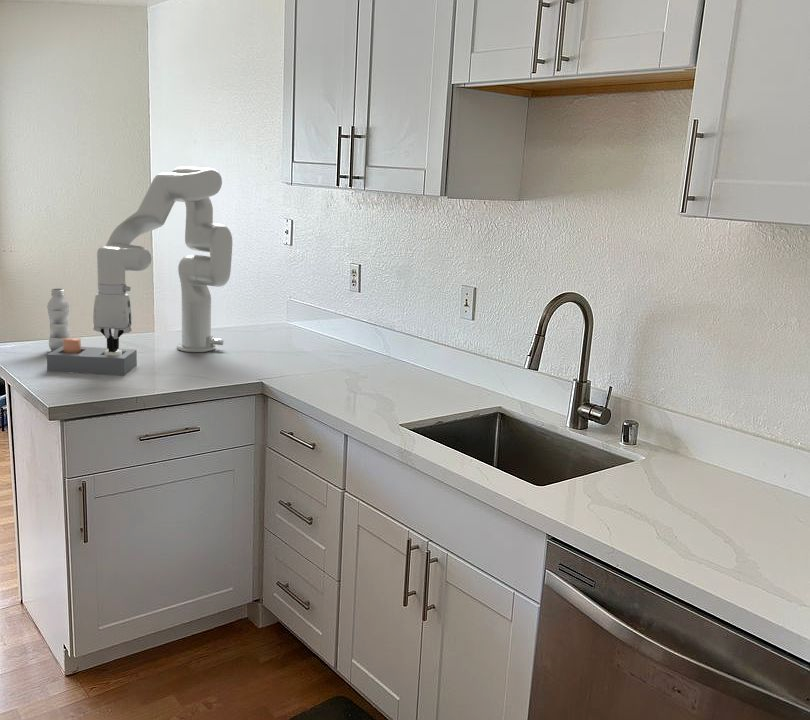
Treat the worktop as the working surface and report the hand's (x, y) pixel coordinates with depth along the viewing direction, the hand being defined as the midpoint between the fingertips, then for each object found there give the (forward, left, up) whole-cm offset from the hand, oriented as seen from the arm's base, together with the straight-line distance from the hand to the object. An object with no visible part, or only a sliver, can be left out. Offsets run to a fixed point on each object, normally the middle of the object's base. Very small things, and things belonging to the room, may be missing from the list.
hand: (113, 351), depth 234 cm
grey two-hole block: (+6, 0, -6) cm, 8 cm away
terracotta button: (+12, 0, -2) cm, 12 cm away
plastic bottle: (+23, -19, -6) cm, 30 cm away
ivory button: (0, 0, -5) cm, 5 cm away
